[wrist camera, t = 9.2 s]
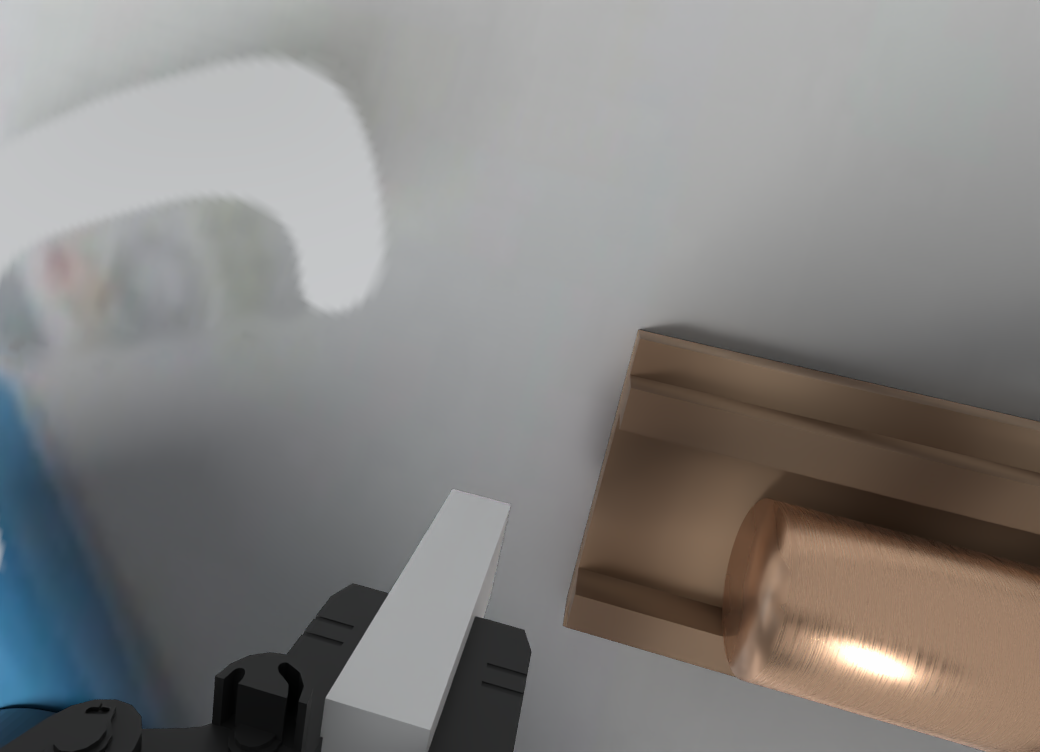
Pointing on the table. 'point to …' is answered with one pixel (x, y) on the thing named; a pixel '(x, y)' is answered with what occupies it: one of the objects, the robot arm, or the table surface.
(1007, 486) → the channel board
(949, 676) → the copper tube
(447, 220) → the table surface
